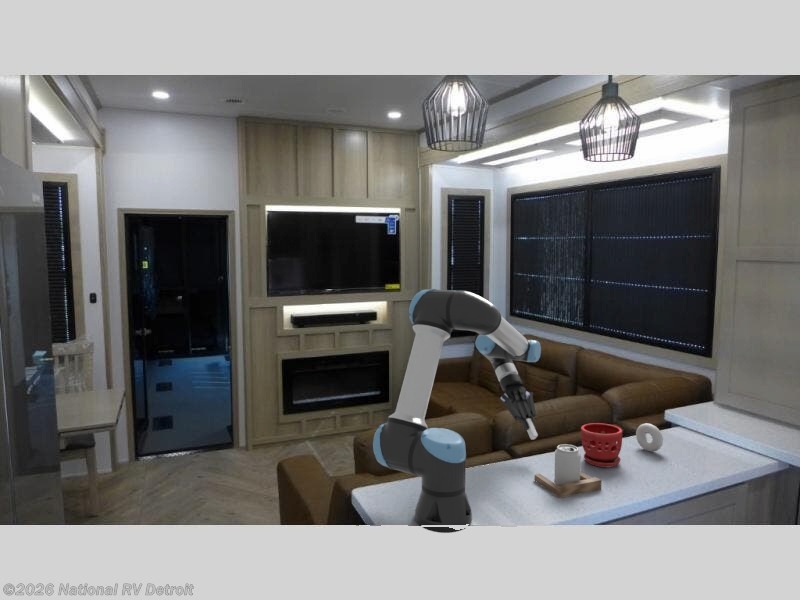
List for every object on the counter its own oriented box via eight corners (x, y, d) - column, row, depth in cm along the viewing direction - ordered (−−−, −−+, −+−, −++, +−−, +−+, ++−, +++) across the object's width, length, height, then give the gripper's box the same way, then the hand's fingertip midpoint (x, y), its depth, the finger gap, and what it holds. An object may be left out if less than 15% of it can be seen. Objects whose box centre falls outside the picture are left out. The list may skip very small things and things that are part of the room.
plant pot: (622, 458, 182) (623, 424, 181) (620, 472, 171) (621, 436, 169) (582, 452, 188) (583, 419, 187) (578, 466, 176) (579, 431, 175)
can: (582, 491, 157) (583, 452, 156) (556, 490, 158) (557, 451, 157) (577, 480, 165) (577, 443, 164) (552, 479, 166) (553, 442, 165)
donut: (633, 447, 192) (634, 420, 192) (639, 445, 194) (640, 419, 193) (658, 456, 184) (659, 428, 183) (664, 454, 185) (665, 426, 185)
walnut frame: (559, 497, 153) (559, 488, 153) (534, 480, 165) (534, 471, 165) (601, 489, 158) (601, 480, 158) (573, 473, 170) (574, 464, 170)
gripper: (520, 382, 197) (545, 440, 183) (489, 385, 193) (513, 445, 178) (528, 371, 192) (555, 430, 177) (497, 374, 187) (522, 434, 173)
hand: (534, 437), depth 178 cm, fingers closed
